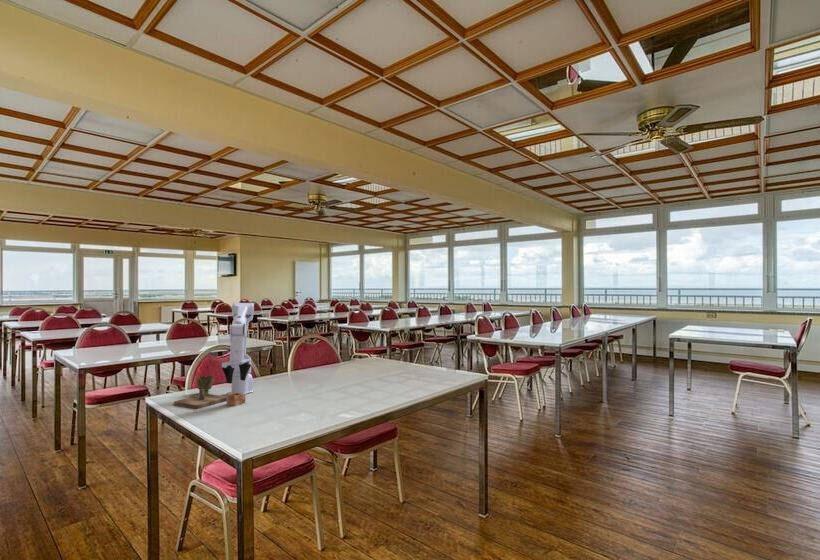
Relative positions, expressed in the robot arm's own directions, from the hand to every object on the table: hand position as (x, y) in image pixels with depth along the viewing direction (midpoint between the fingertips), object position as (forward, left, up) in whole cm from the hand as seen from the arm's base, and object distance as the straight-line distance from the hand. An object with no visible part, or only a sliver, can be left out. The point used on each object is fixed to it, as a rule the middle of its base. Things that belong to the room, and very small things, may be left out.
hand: (236, 381), depth 187 cm
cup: (-6, -26, -10) cm, 28 cm away
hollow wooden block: (0, 0, -10) cm, 10 cm away
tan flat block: (+6, -14, -10) cm, 18 cm away
